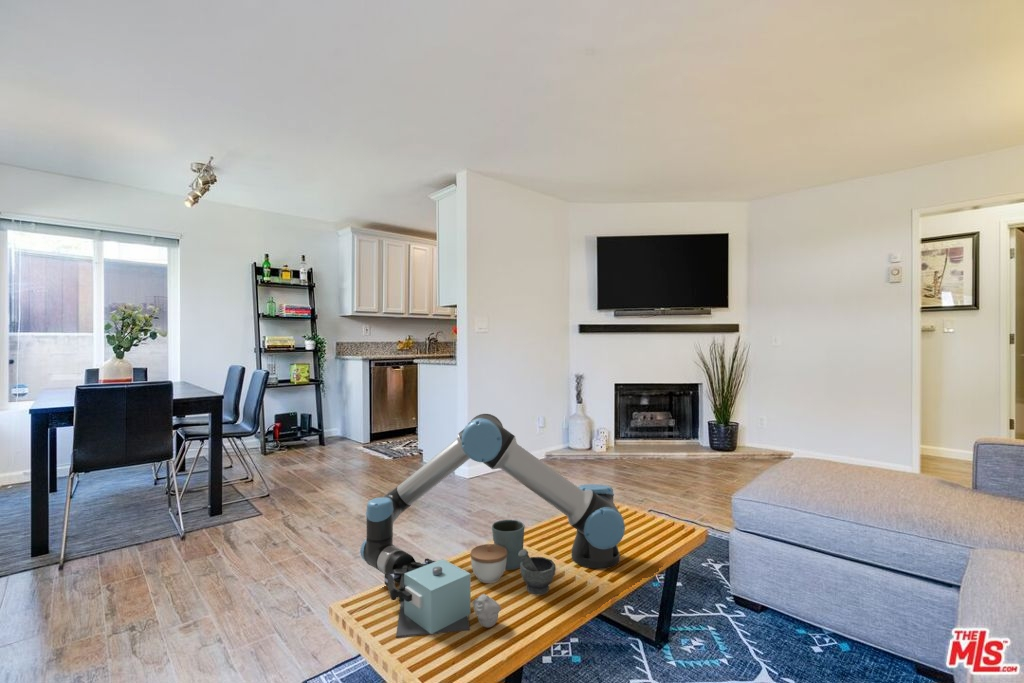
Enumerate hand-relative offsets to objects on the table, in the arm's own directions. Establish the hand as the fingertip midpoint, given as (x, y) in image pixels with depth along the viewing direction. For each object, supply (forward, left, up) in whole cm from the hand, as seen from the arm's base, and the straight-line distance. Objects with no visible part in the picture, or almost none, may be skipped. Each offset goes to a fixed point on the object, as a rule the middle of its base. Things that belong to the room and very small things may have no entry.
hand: (442, 592), depth 115 cm
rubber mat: (+2, -3, -6) cm, 7 cm away
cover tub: (+1, -2, -6) cm, 6 cm away
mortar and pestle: (-26, -10, -7) cm, 28 cm away
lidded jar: (-14, -19, -7) cm, 24 cm away
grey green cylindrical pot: (-21, -27, -7) cm, 35 cm away
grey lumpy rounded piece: (-11, +5, -7) cm, 13 cm away
